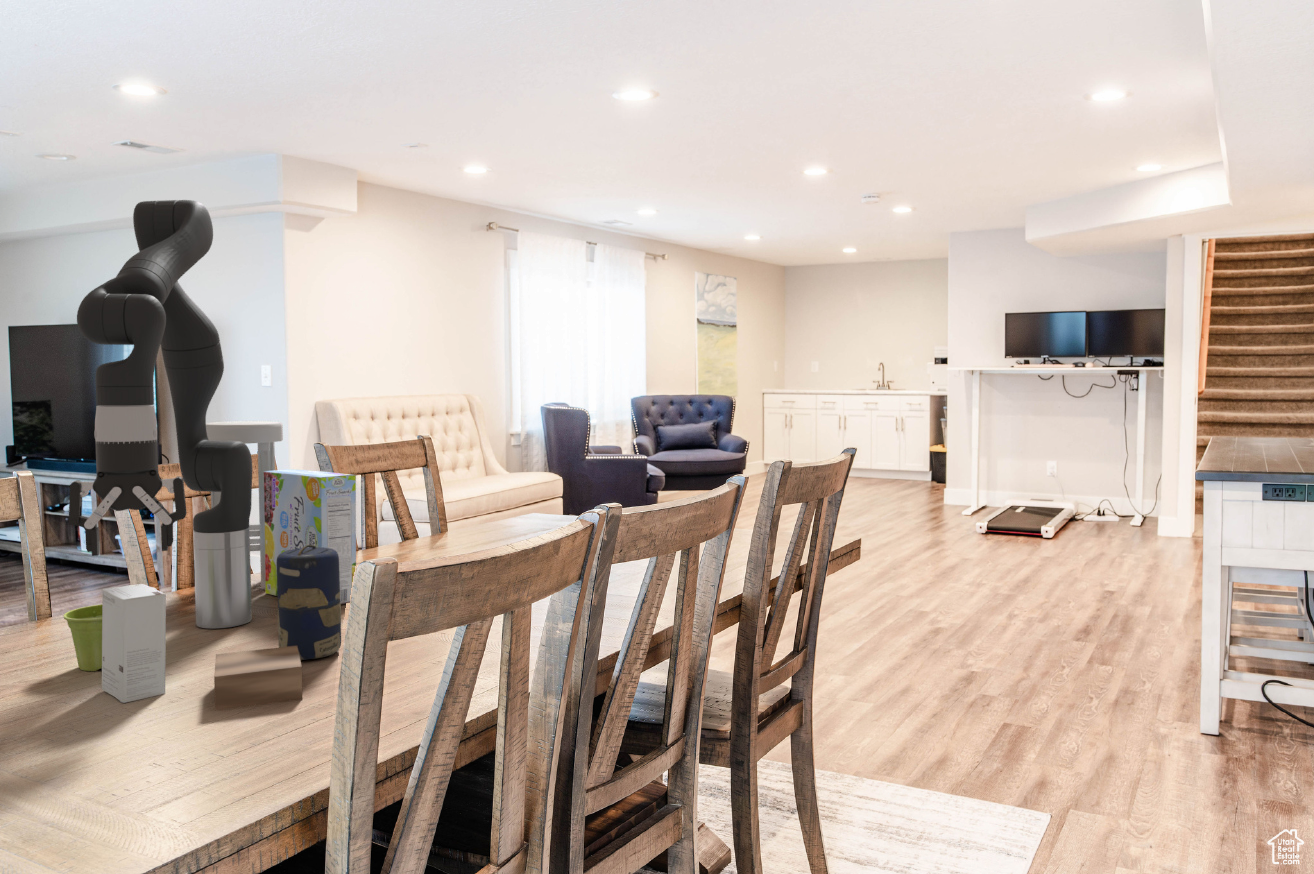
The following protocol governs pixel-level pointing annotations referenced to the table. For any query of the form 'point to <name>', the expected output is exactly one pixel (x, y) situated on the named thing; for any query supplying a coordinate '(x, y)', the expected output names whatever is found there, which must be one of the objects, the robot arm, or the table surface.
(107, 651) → the skincare box
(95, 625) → the plant pot
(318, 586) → the canister
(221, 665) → the walnut block
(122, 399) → the robot arm
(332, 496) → the snack box
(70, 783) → the table surface
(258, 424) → the stool
